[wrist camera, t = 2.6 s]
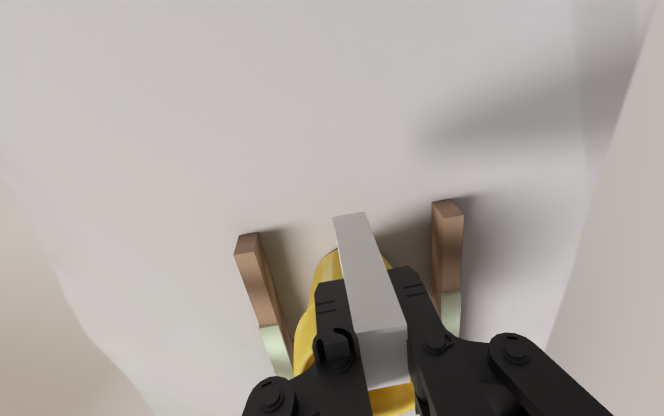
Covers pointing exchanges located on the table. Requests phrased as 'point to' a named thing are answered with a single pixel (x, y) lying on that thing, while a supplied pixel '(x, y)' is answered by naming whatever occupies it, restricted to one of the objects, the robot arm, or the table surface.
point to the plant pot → (382, 399)
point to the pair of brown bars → (270, 313)
